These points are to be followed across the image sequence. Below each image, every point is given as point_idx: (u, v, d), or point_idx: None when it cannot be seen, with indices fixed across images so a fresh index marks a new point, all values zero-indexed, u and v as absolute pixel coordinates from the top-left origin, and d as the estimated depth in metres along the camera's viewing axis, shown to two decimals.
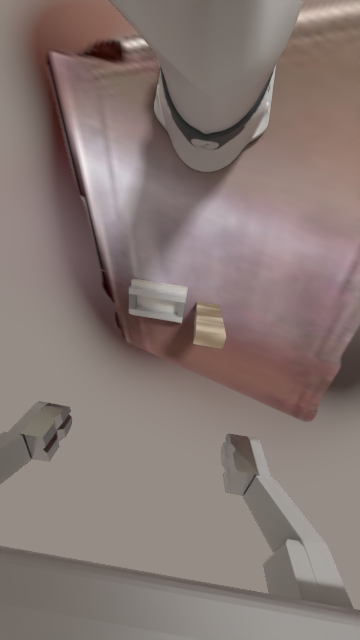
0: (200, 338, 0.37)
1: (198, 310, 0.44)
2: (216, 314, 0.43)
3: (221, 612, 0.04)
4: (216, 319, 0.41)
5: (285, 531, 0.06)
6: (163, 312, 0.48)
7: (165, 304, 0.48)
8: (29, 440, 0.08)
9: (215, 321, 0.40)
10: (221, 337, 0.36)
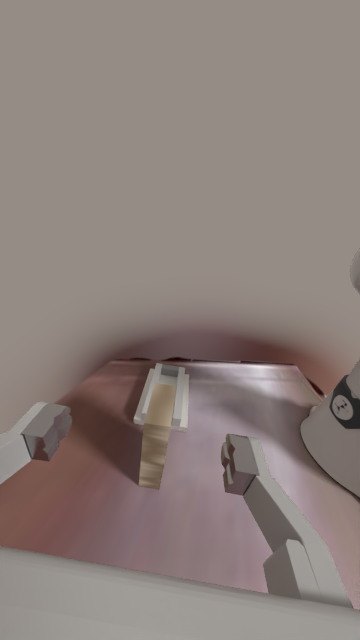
0: (163, 391, 0.25)
1: None
2: None
3: (221, 612, 0.04)
4: None
5: (285, 531, 0.06)
6: None
7: None
8: (29, 440, 0.08)
9: None
10: (168, 419, 0.21)
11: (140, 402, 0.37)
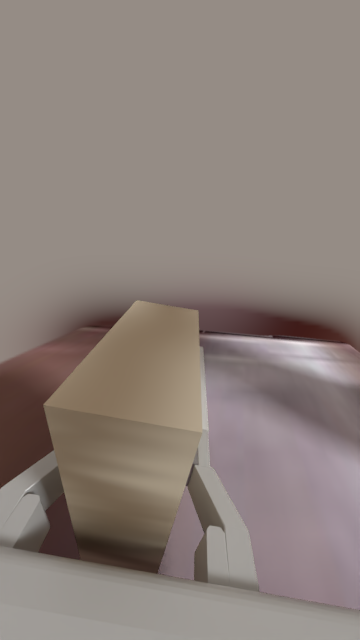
0: (163, 315, 0.08)
1: None
2: None
3: (221, 612, 0.04)
4: None
5: (214, 519, 0.06)
6: None
7: None
8: None
9: None
10: (182, 393, 0.04)
11: None
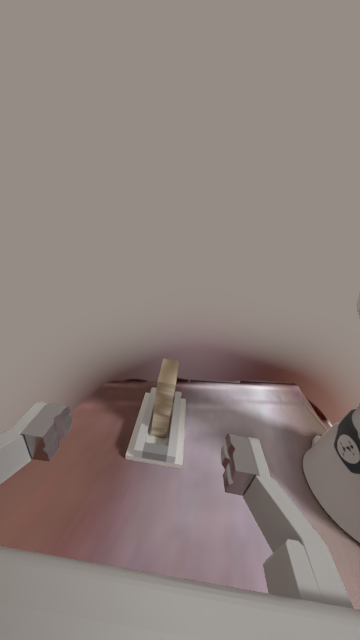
0: (170, 364, 0.34)
1: None
2: None
3: (221, 612, 0.04)
4: None
5: (285, 531, 0.06)
6: (149, 425, 0.36)
7: None
8: (29, 440, 0.08)
9: None
10: (173, 380, 0.30)
11: (133, 434, 0.35)
